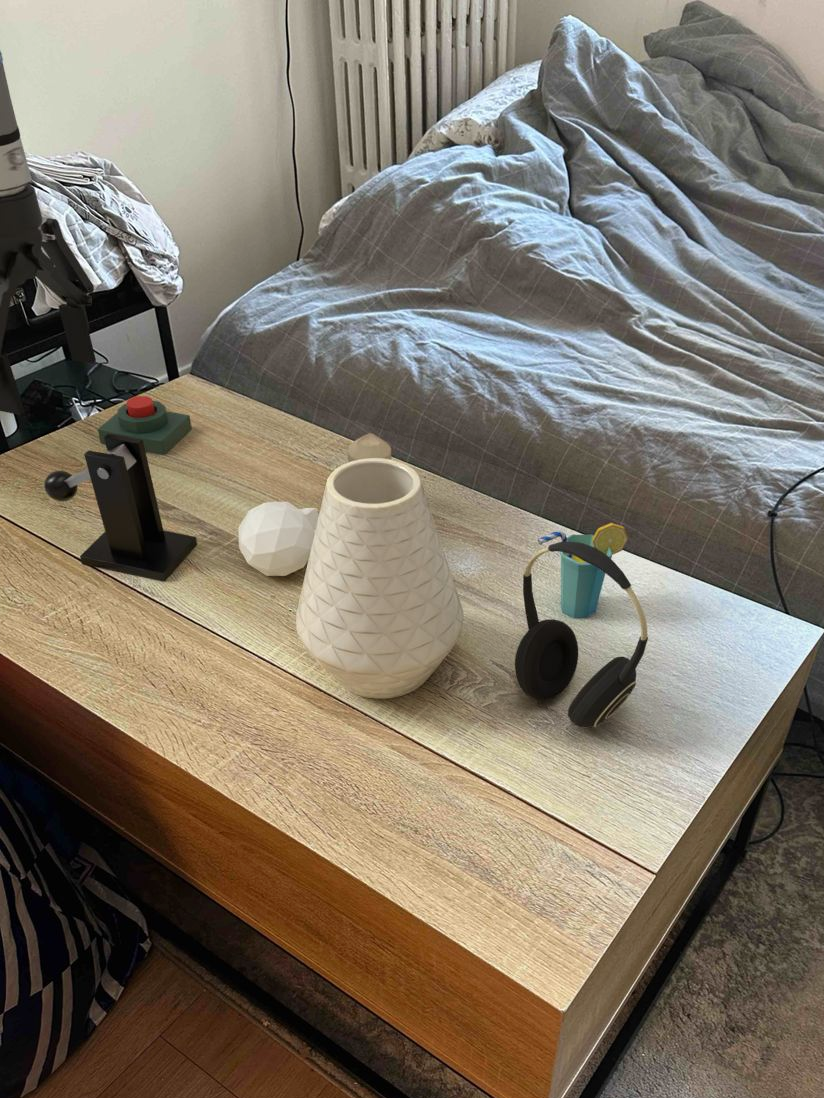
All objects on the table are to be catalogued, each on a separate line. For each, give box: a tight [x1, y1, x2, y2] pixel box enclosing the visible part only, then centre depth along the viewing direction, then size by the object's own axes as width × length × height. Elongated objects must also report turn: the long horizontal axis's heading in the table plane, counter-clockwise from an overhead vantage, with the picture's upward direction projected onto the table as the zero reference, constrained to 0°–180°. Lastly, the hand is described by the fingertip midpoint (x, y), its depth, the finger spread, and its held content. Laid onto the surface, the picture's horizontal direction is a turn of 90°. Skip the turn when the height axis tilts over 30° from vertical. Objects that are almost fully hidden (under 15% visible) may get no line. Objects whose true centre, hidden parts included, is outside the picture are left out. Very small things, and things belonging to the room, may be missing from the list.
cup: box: [537, 522, 629, 619], centre depth 110 cm, size 11×6×12 cm, turn 117°
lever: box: [43, 444, 137, 503], centre depth 112 cm, size 13×4×4 cm, turn 75°
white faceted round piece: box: [237, 501, 319, 577], centre depth 116 cm, size 9×9×12 cm
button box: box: [97, 400, 193, 456], centre depth 138 cm, size 10×8×4 cm
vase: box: [295, 458, 465, 700], centre depth 98 cm, size 18×17×23 cm
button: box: [125, 395, 155, 418], centre depth 136 cm, size 4×4×2 cm
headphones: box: [514, 541, 649, 729], centre depth 95 cm, size 9×15×20 cm, turn 49°
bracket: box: [79, 433, 198, 582], centre depth 113 cm, size 11×8×15 cm
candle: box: [346, 432, 392, 463], centre depth 125 cm, size 6×6×10 cm
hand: (49, 385), depth 111 cm, fingers open, 13 cm apart
